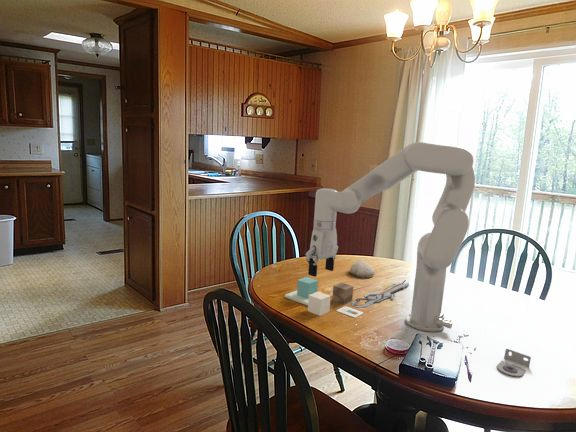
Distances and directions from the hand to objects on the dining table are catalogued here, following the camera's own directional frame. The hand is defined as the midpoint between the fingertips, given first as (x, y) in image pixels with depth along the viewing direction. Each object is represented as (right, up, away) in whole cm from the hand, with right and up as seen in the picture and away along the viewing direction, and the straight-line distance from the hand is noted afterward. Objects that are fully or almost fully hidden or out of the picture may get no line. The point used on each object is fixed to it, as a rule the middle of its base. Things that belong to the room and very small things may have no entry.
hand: (320, 272), depth 148 cm
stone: (+23, -7, +48) cm, 54 cm away
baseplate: (-4, -12, +15) cm, 19 cm away
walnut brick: (+9, -13, +14) cm, 21 cm away
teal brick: (-4, -11, +15) cm, 18 cm away
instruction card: (+11, -14, +3) cm, 18 cm away
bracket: (+52, -23, -29) cm, 64 cm away
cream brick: (-1, -14, +2) cm, 14 cm away
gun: (+27, -13, +22) cm, 37 cm away
